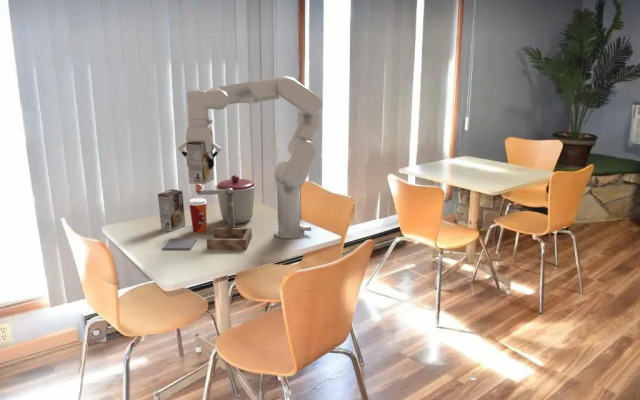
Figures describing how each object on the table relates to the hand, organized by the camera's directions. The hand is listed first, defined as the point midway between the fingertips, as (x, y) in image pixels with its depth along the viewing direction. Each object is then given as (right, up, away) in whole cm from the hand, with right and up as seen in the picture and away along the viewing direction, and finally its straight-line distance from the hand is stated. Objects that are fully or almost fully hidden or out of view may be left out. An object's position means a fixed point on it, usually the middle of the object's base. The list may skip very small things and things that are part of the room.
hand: (200, 168), depth 221 cm
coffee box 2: (0, -5, +2) cm, 6 cm away
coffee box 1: (-18, -25, +30) cm, 43 cm away
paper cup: (-5, -26, +24) cm, 36 cm away
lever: (+3, -10, +12) cm, 16 cm away
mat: (-10, -31, +8) cm, 33 cm away
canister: (+9, -22, +38) cm, 45 cm away
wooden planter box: (+10, -29, +11) cm, 33 cm away
